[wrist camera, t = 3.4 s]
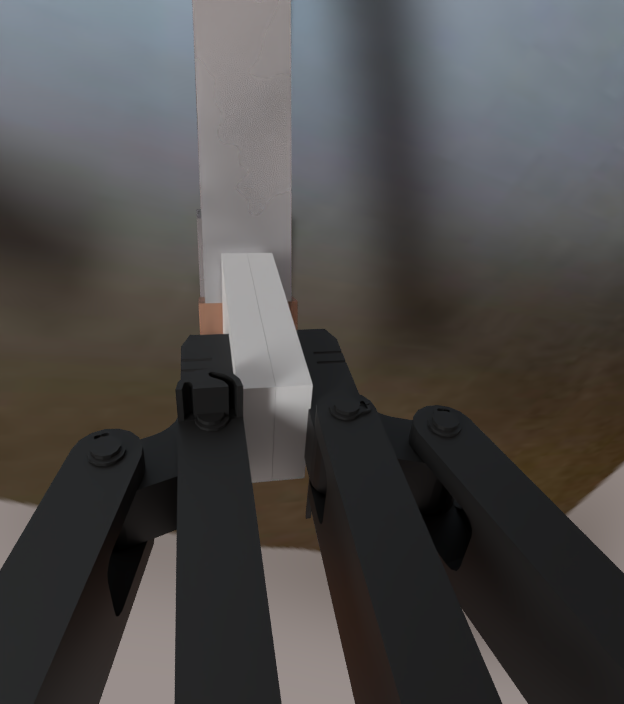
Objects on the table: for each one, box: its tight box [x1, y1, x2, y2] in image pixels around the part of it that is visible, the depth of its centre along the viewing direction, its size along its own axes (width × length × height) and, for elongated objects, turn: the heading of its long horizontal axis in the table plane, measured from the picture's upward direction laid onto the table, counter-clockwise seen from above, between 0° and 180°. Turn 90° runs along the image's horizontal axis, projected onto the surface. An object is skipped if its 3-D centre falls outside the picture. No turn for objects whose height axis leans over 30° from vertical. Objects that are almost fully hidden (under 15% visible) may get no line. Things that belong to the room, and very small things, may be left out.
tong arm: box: [193, 0, 297, 335], centre depth 16 cm, size 3×27×2 cm, turn 176°
